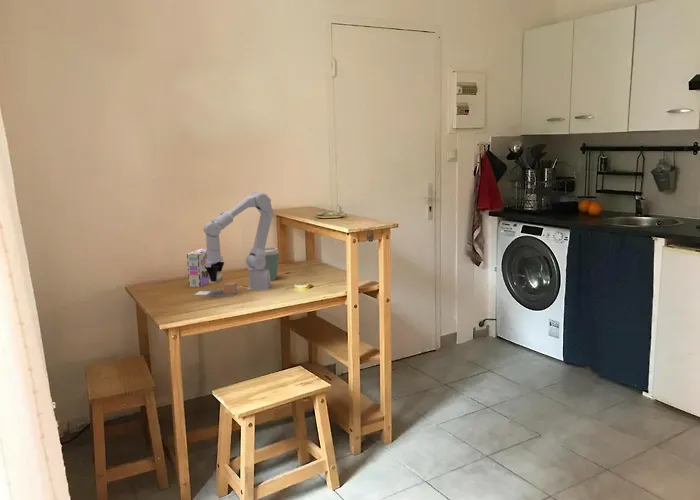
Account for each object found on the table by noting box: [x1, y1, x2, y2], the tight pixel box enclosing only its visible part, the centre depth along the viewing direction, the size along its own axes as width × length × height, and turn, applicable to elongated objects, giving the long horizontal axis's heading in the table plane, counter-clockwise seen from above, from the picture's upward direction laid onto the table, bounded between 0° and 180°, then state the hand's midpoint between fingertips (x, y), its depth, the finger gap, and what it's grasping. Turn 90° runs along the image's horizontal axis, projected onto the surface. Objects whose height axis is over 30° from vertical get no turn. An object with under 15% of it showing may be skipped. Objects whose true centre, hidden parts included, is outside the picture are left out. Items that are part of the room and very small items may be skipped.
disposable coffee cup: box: [264, 246, 280, 281], centre depth 288 cm, size 11×11×15 cm
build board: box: [191, 289, 241, 298], centre depth 262 cm, size 19×11×1 cm, turn 81°
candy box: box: [186, 248, 209, 288], centre depth 280 cm, size 14×6×16 cm, turn 168°
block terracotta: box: [222, 281, 238, 295], centre depth 260 cm, size 4×4×4 cm
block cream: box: [208, 270, 223, 284], centre depth 261 cm, size 4×4×4 cm
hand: (215, 279), depth 261 cm, fingers closed on block cream, 4 cm apart
